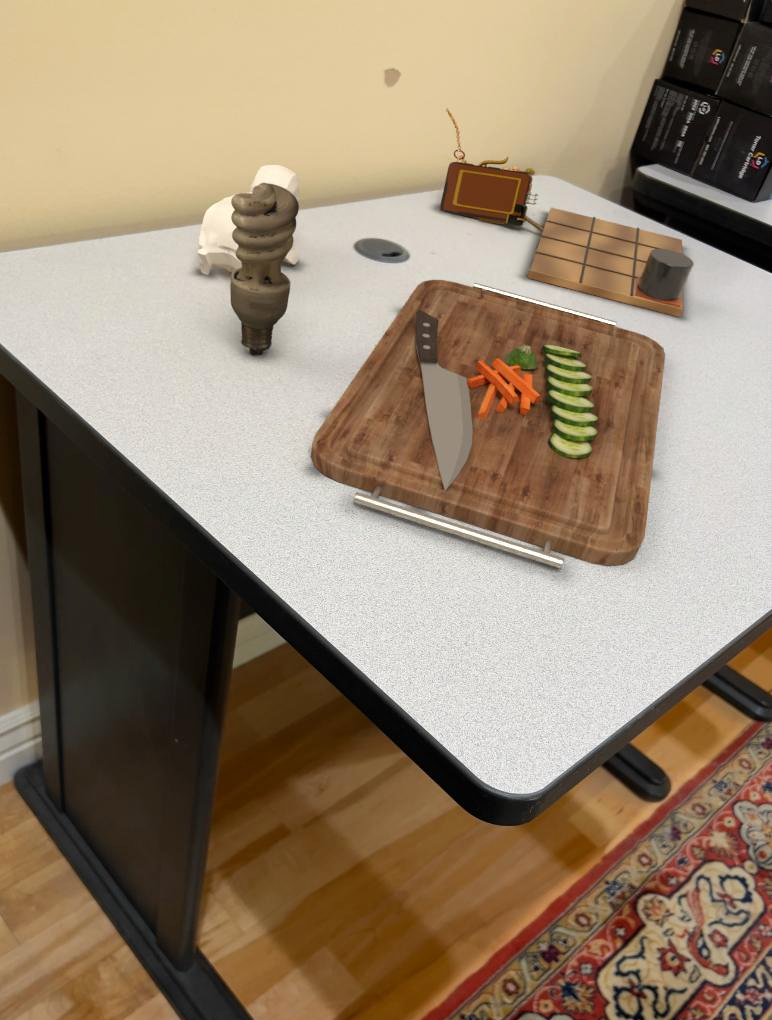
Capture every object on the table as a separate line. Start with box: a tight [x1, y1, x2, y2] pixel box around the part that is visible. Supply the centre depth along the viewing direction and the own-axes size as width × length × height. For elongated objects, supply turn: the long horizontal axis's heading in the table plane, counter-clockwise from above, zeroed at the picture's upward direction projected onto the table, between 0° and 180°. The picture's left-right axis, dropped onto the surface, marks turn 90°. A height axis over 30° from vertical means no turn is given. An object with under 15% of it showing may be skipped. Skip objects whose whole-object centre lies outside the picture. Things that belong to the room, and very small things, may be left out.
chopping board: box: [310, 279, 666, 569], centre depth 81 cm, size 45×27×3 cm, turn 161°
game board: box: [527, 206, 684, 318], centre depth 112 cm, size 18×24×1 cm
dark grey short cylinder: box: [637, 249, 694, 301], centre depth 102 cm, size 5×5×4 cm
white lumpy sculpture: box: [197, 164, 300, 276], centre depth 95 cm, size 9×8×15 cm
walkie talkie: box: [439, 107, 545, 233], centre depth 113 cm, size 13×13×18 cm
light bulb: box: [229, 183, 300, 356], centre depth 77 cm, size 6×6×15 cm
